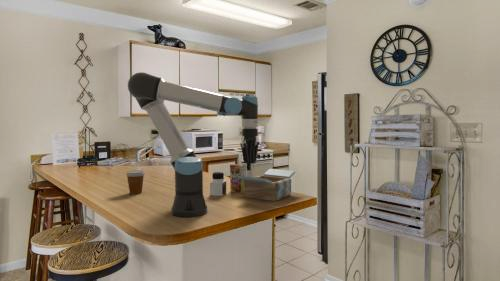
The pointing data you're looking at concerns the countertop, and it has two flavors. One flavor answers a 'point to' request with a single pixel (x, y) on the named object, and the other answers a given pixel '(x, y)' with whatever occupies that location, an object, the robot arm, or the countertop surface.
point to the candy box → (236, 182)
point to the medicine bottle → (218, 184)
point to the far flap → (279, 173)
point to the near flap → (255, 179)
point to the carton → (268, 188)
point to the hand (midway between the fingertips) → (250, 176)
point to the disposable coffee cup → (135, 181)
